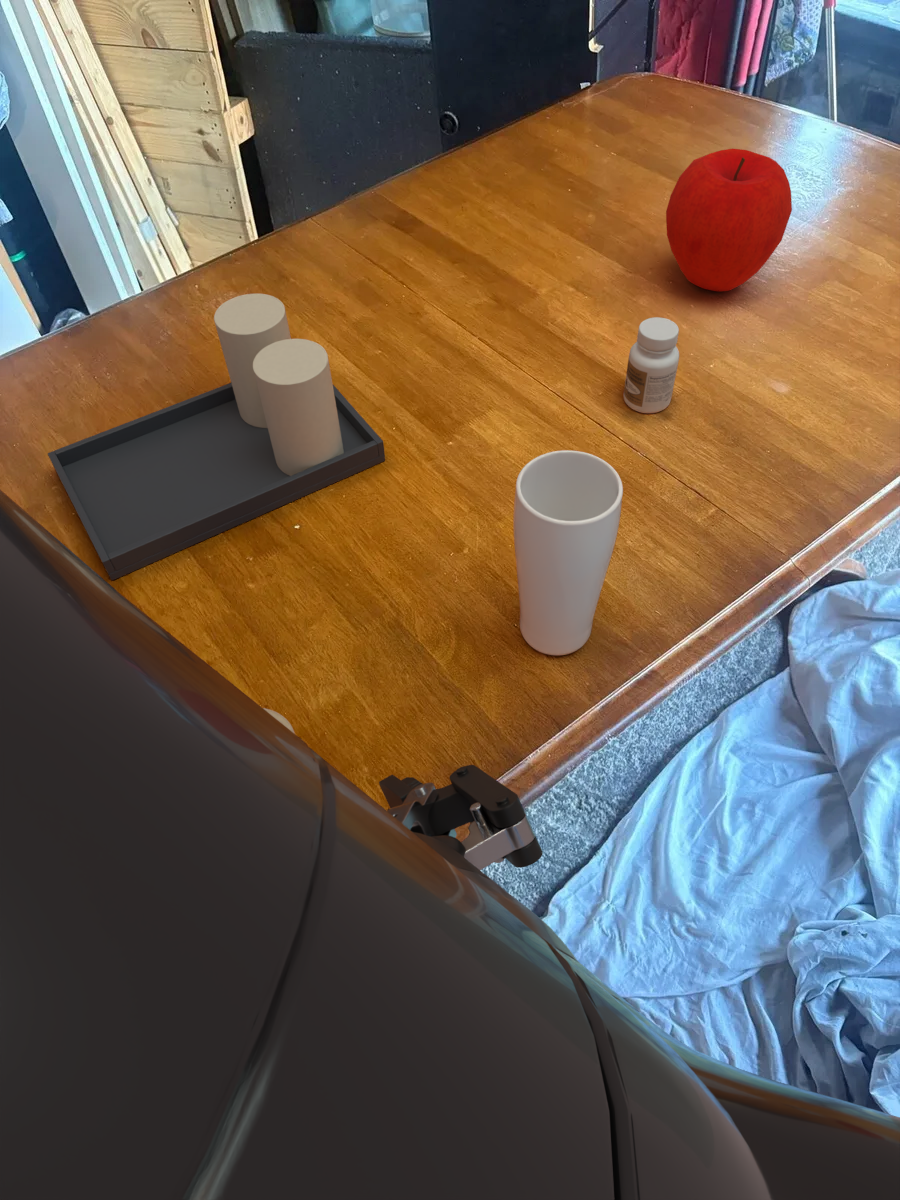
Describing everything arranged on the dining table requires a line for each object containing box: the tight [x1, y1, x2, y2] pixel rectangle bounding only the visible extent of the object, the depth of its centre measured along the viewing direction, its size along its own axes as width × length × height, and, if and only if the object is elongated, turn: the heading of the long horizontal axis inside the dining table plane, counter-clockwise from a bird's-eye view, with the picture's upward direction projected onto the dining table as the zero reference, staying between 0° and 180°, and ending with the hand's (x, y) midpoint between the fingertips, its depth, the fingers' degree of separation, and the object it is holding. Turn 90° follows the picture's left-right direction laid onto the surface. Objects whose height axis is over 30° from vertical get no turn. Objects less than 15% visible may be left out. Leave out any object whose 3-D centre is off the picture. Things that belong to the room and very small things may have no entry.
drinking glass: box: [512, 449, 624, 656], centre depth 61 cm, size 7×7×15 cm
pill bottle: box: [622, 316, 680, 414], centre depth 80 cm, size 4×4×8 cm
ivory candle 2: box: [253, 338, 344, 476], centre depth 75 cm, size 6×6×10 cm
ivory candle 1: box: [213, 293, 292, 428], centre depth 79 cm, size 6×6×10 cm
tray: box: [47, 382, 386, 581], centre depth 78 cm, size 25×15×2 cm, turn 122°
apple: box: [665, 148, 793, 292], centre depth 89 cm, size 12×12×13 cm
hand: (310, 843), depth 40 cm, fingers open, 8 cm apart
